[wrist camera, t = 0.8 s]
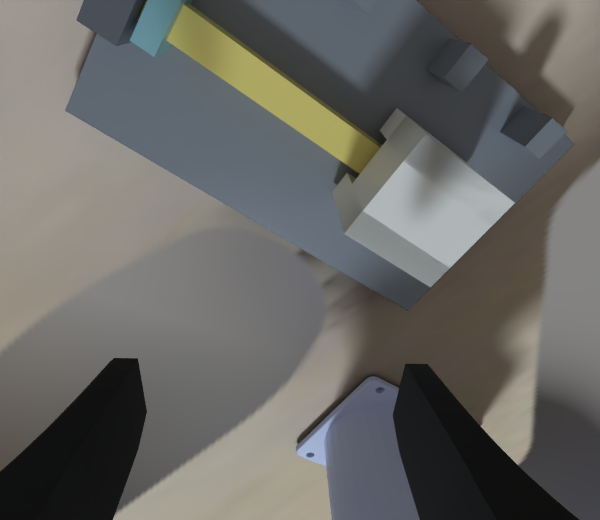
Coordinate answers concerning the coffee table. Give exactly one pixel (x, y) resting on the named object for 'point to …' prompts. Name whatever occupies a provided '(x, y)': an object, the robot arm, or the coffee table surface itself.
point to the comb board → (301, 107)
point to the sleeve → (417, 202)
